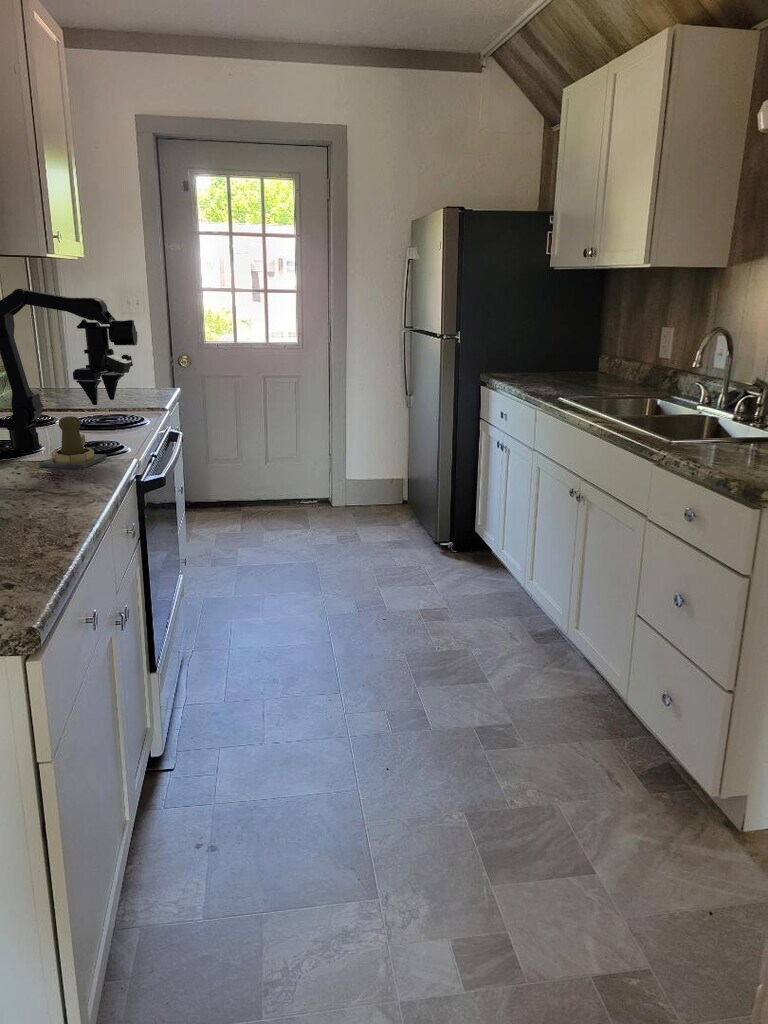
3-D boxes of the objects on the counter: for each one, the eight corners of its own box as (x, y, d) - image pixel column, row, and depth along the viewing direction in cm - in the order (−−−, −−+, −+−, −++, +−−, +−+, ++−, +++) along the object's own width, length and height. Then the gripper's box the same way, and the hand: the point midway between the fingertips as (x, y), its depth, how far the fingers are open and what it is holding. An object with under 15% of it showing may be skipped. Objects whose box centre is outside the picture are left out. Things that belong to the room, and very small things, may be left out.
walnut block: (63, 452, 211) (61, 438, 210) (67, 448, 216) (65, 434, 215) (82, 452, 212) (80, 437, 211) (86, 448, 217) (84, 434, 216)
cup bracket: (39, 466, 195) (38, 455, 194) (65, 456, 206) (64, 445, 205) (83, 468, 193) (81, 457, 192) (106, 458, 204) (105, 447, 203)
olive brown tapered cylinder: (90, 456, 202) (85, 415, 199) (79, 461, 196) (74, 419, 193) (68, 455, 202) (63, 414, 199) (56, 460, 197) (51, 418, 193)
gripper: (108, 349, 198) (113, 408, 203) (141, 343, 216) (146, 398, 220) (68, 348, 200) (75, 407, 204) (104, 342, 217) (110, 397, 222)
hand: (103, 402), depth 213 cm, fingers open, 9 cm apart
